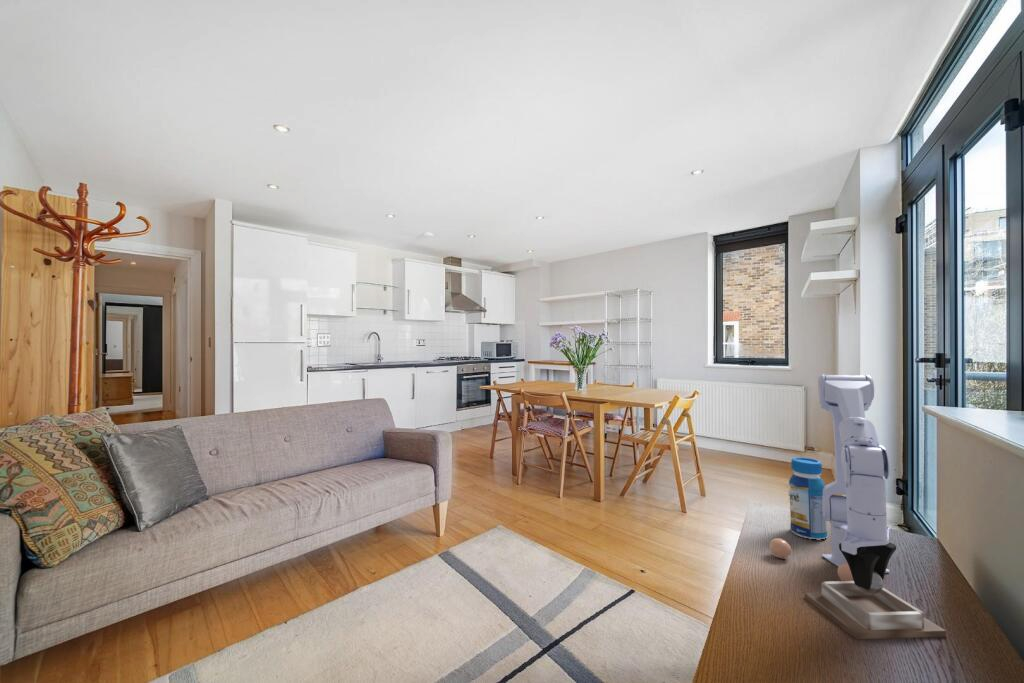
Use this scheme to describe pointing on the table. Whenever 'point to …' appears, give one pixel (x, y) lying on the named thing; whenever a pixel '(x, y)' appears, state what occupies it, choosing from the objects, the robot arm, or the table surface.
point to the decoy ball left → (844, 572)
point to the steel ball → (874, 584)
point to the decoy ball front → (780, 548)
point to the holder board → (871, 612)
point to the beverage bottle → (807, 499)
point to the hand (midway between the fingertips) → (868, 583)
